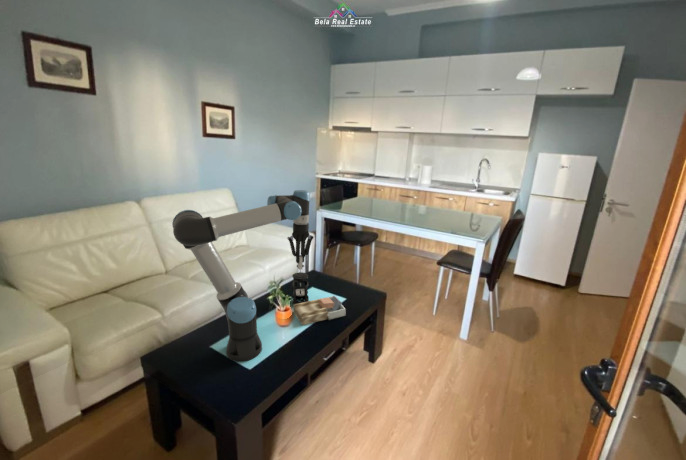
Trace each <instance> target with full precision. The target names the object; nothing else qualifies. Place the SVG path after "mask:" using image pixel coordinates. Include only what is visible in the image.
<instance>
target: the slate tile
mask: <svg viewBox="0 0 686 460" xmlns="http://www.w3.org/2000/svg"><path fill="white" fill-rule="evenodd" d="M332 296H333V298H332V299H331V300H332V301H333V302H334V305H333V308H331V309H332V310H333V311H337V309H338V308H339V307H340V305H341V304H342V305H343V302H342V301H341V300H340V299H339V298H338V297H337V296H335V295H332Z"/></svg>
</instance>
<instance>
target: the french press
mask: <svg viewBox="0 0 686 460" xmlns="http://www.w3.org/2000/svg"><path fill="white" fill-rule="evenodd" d="M304 267H305V265H304V264H302V268H304ZM296 268H298V264H297V265H296ZM292 278H293V279H292V281H291V293H292V295H291V296H293V297H292V304H293V305H292V306H294V304H298V303H303V302H308V301H310V300H309V294H308V293H309V290H308V287H309V282H308V280H305V279H308V278H309V273H307V272H302V269H301V270H299V272H295V273H293V274H292ZM298 283H299V285H300V286H298V285H297V284H298ZM302 283H304V286H302Z"/></svg>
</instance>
